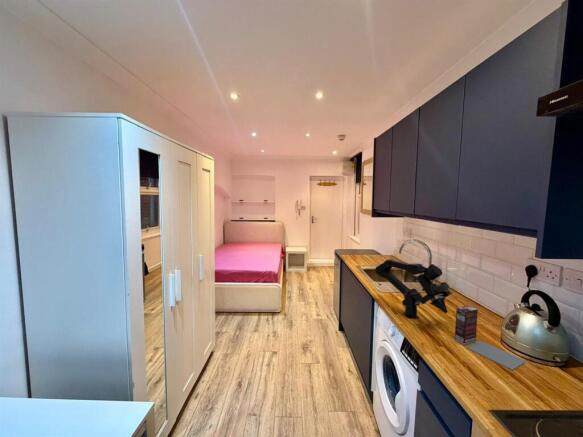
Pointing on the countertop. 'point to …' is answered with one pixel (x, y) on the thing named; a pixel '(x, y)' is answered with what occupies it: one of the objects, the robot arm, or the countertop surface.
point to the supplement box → (466, 324)
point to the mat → (496, 355)
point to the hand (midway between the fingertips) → (446, 312)
